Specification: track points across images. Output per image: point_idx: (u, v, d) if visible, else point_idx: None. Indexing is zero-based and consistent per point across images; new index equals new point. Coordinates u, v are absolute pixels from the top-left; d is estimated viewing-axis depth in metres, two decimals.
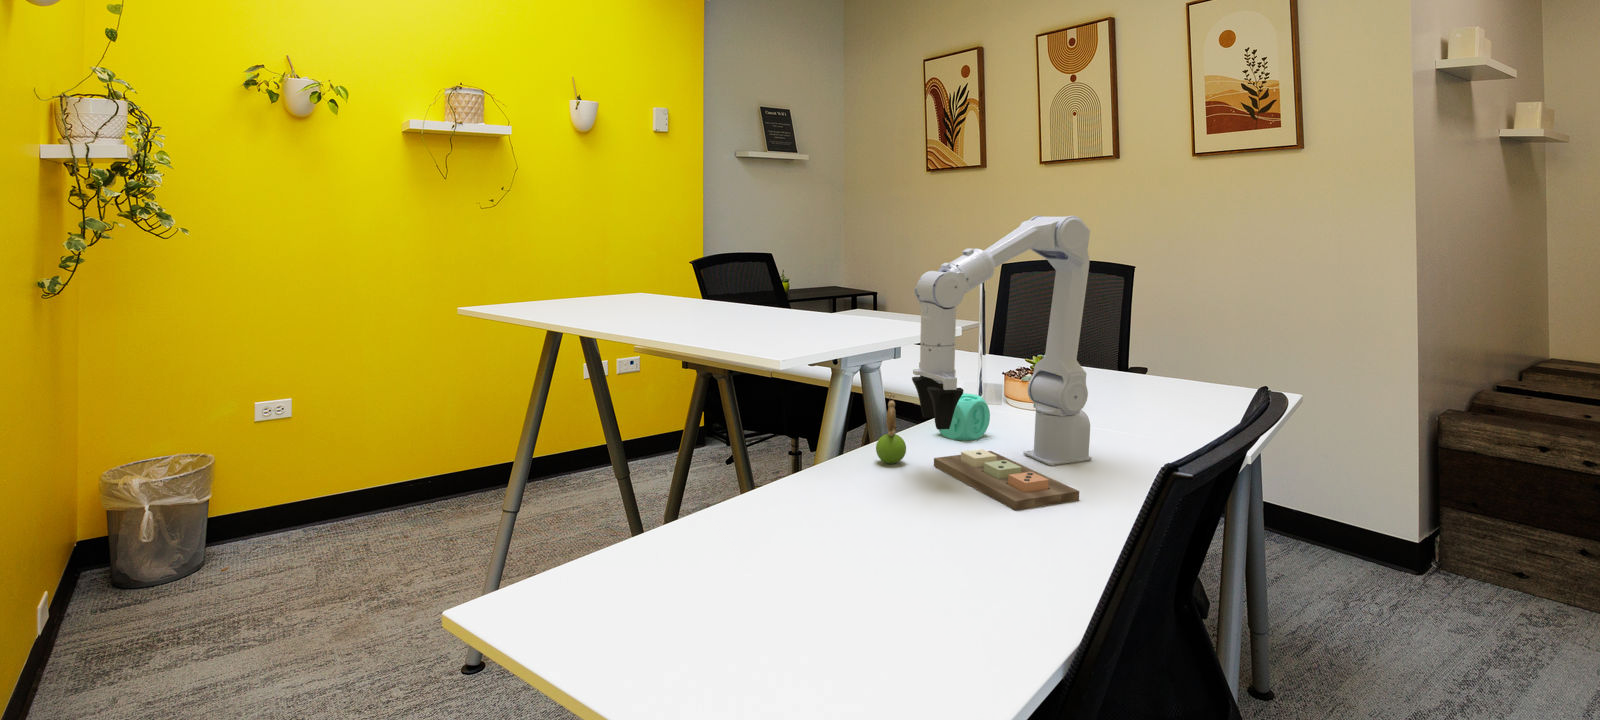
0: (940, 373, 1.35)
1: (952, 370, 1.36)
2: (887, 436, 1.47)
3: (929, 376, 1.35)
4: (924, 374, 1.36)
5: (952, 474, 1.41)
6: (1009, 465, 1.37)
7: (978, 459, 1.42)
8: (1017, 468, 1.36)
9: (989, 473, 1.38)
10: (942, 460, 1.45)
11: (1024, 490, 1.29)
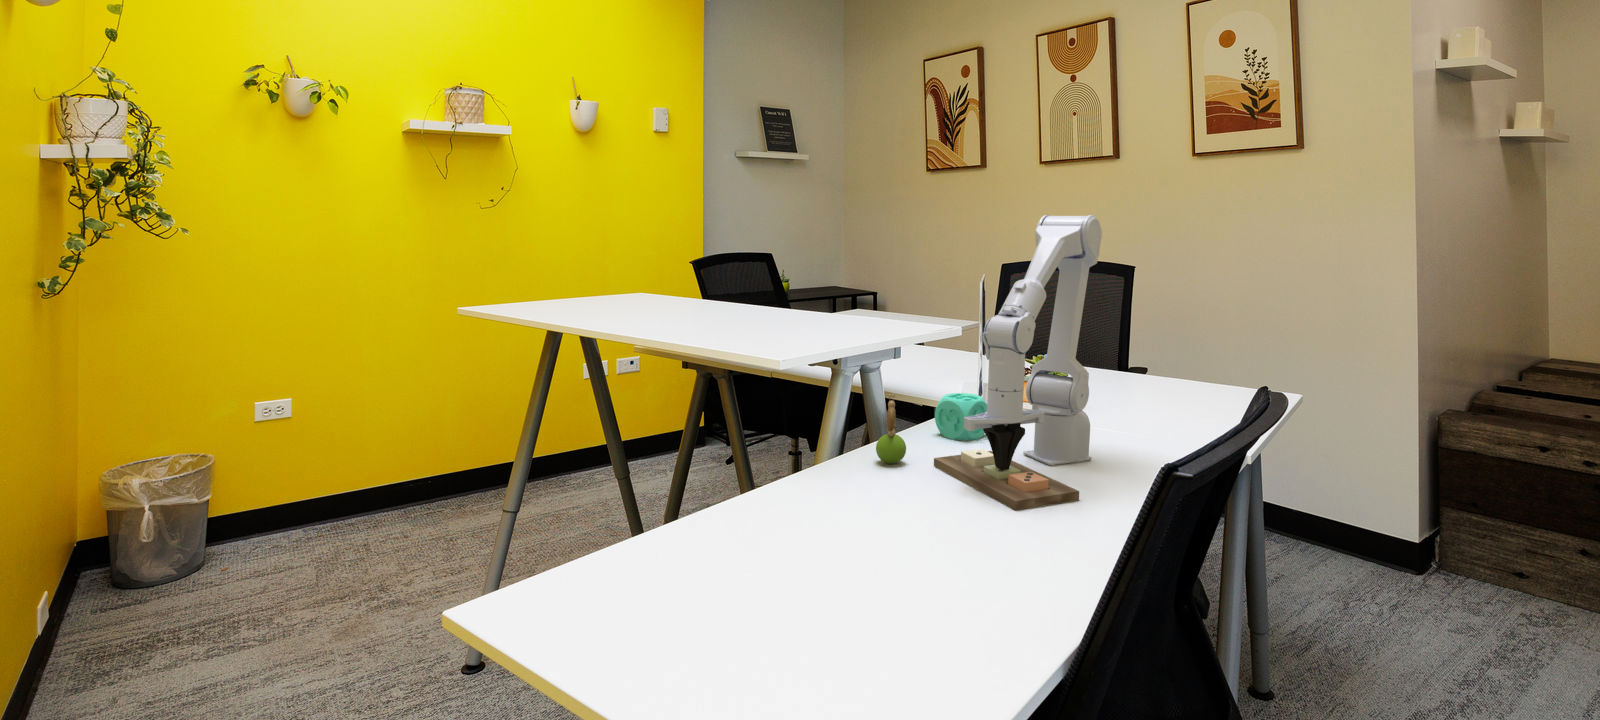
0: (988, 415, 1.36)
1: (1001, 417, 1.34)
2: (887, 436, 1.47)
3: None
4: None
5: (952, 474, 1.41)
6: (1009, 469, 1.38)
7: (978, 459, 1.42)
8: (1017, 472, 1.36)
9: None
10: (942, 460, 1.45)
11: (1024, 490, 1.29)
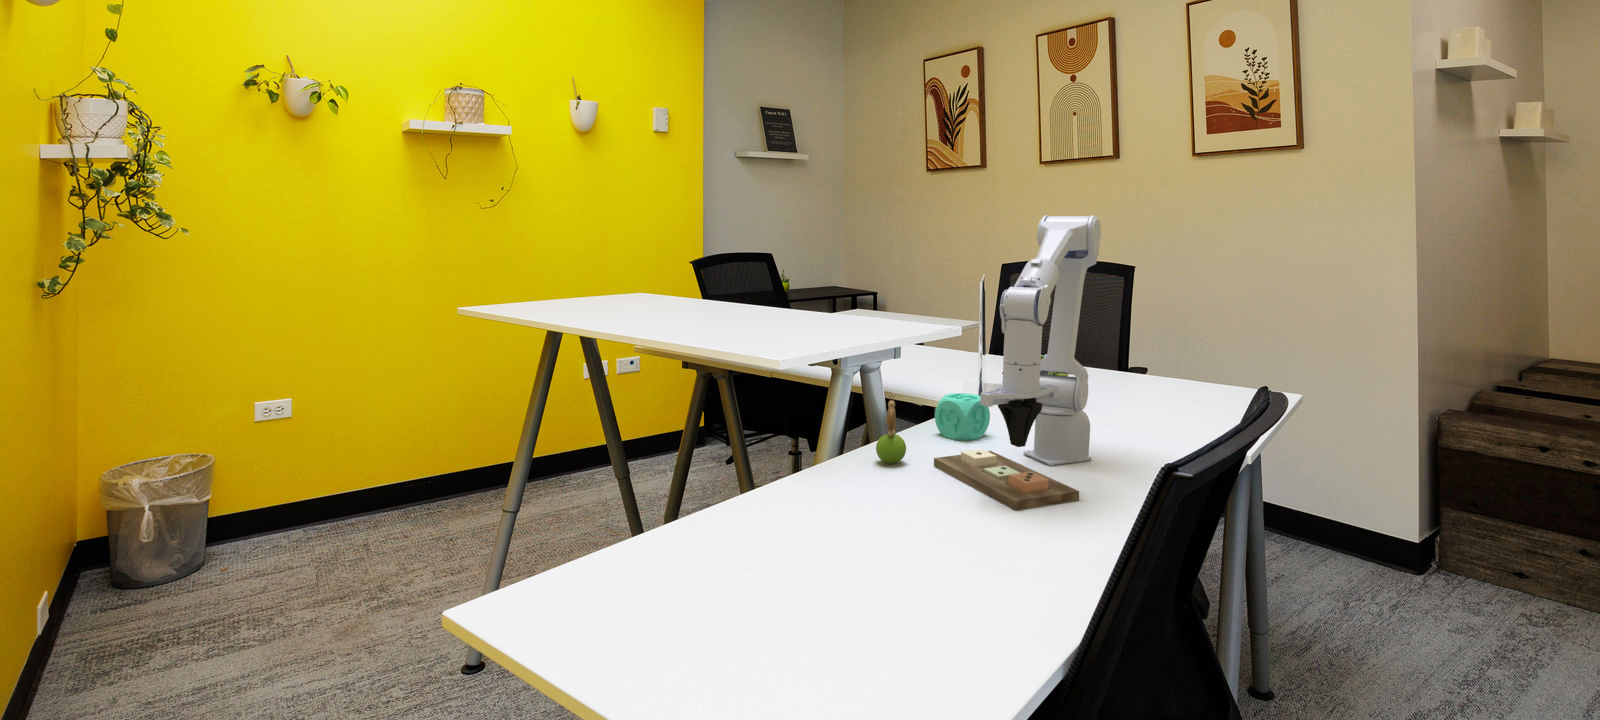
0: (1004, 391, 1.31)
1: (1019, 391, 1.29)
2: (887, 436, 1.47)
3: (997, 391, 1.32)
4: None
5: (952, 474, 1.41)
6: (1009, 471, 1.38)
7: (978, 459, 1.42)
8: None
9: None
10: (942, 460, 1.45)
11: (1024, 490, 1.29)
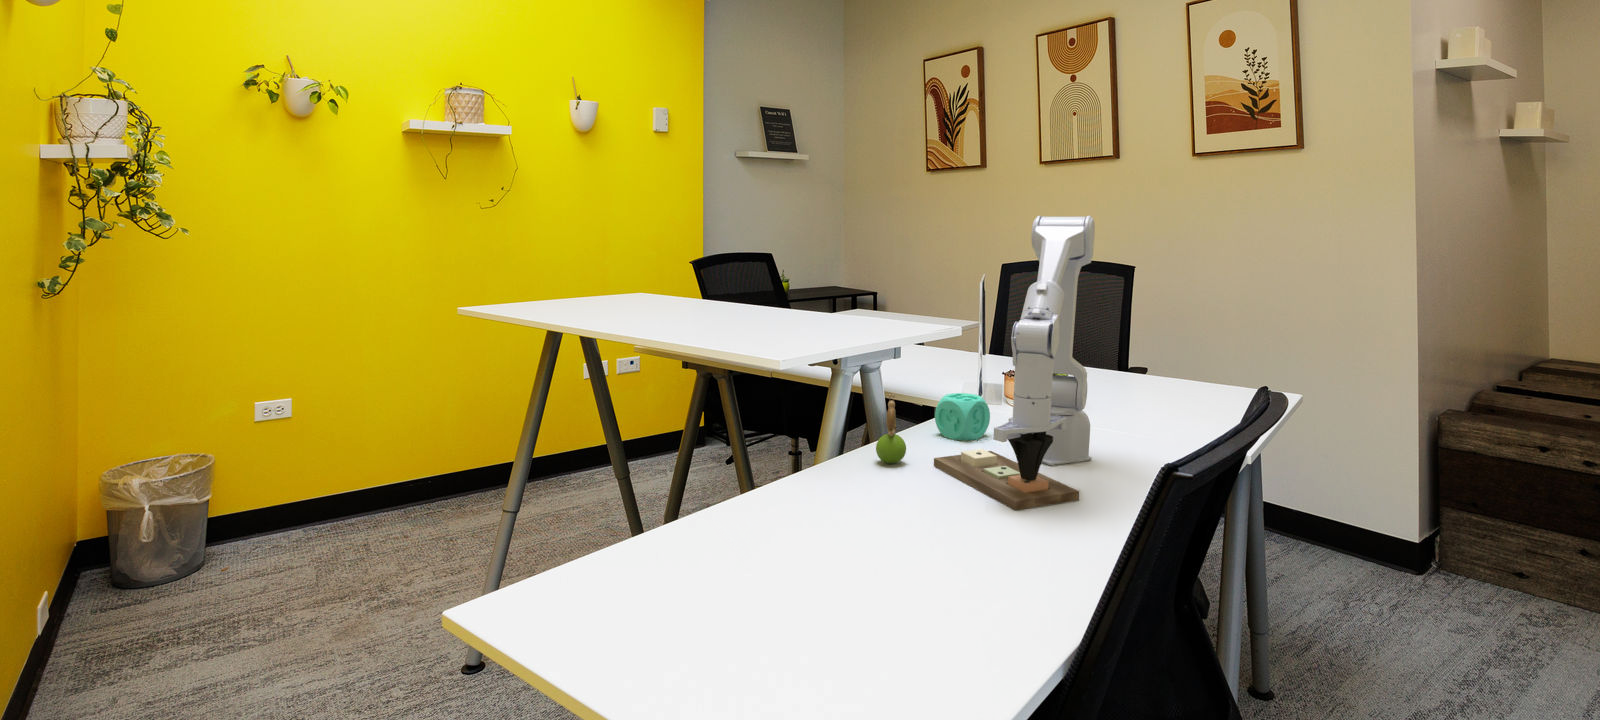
0: (1016, 424, 1.29)
1: (1032, 425, 1.27)
2: (887, 436, 1.47)
3: (1007, 425, 1.30)
4: None
5: (952, 474, 1.41)
6: (1009, 471, 1.38)
7: (978, 459, 1.42)
8: (1017, 474, 1.37)
9: None
10: (942, 460, 1.45)
11: (1024, 492, 1.29)
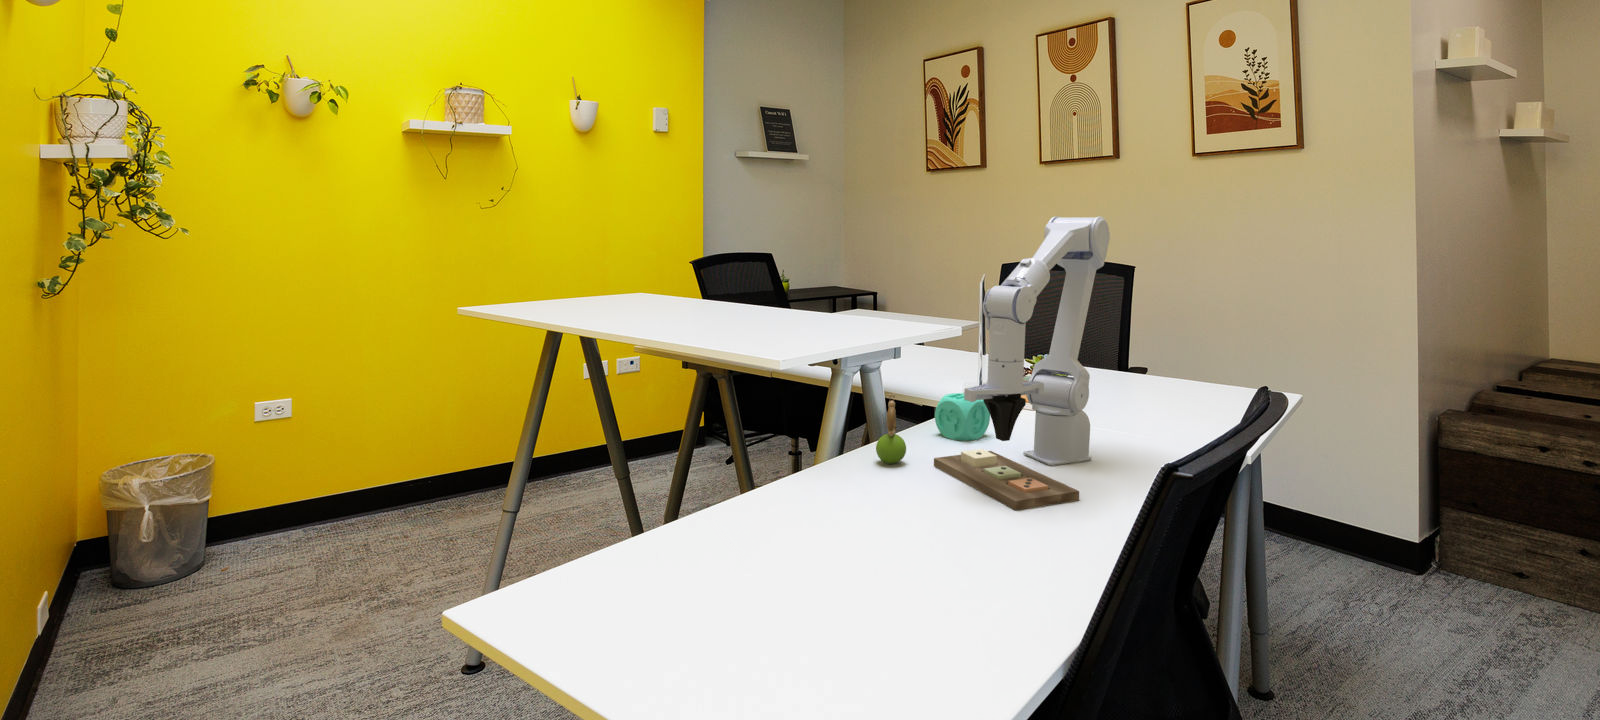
0: (988, 386, 1.35)
1: (1002, 387, 1.33)
2: (887, 436, 1.47)
3: None
4: None
5: (952, 474, 1.41)
6: (1009, 471, 1.38)
7: (978, 459, 1.42)
8: (1017, 474, 1.37)
9: None
10: (942, 460, 1.45)
11: None
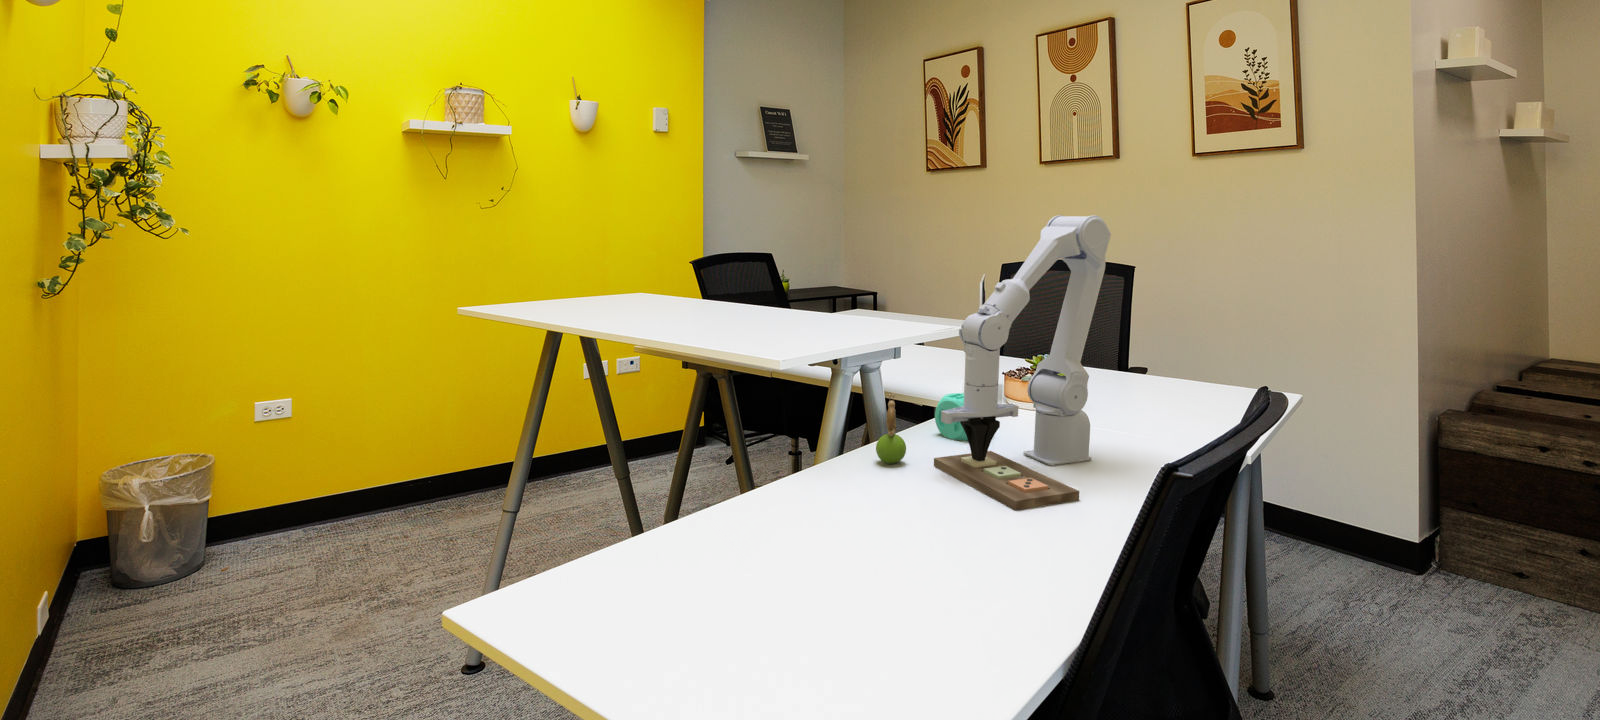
0: (964, 409, 1.42)
1: (976, 410, 1.40)
2: (887, 436, 1.47)
3: (959, 409, 1.44)
4: (963, 407, 1.45)
5: (952, 474, 1.41)
6: (1009, 471, 1.38)
7: (978, 465, 1.42)
8: (1017, 474, 1.37)
9: None
10: (942, 460, 1.45)
11: None
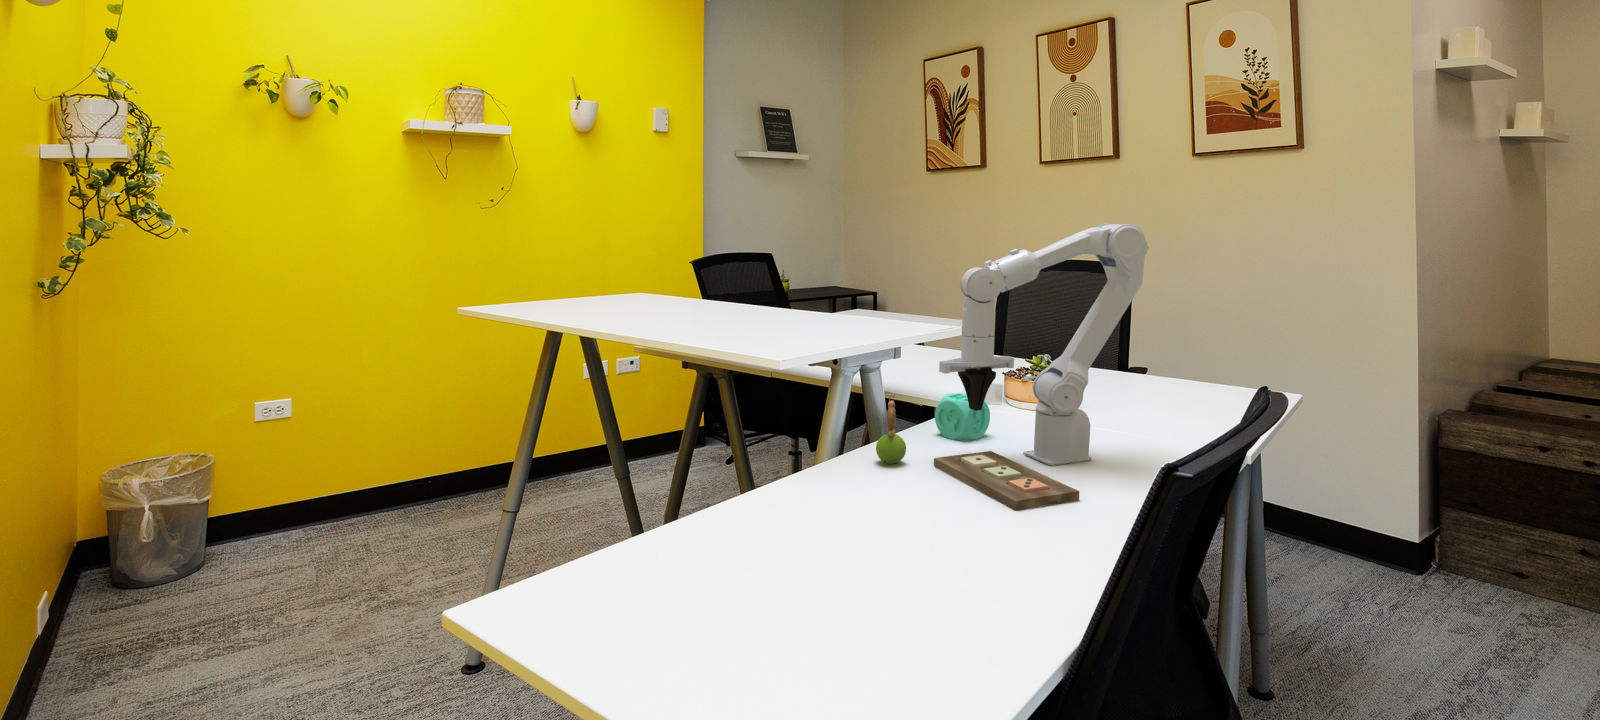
0: None
1: (973, 360, 1.45)
2: (887, 436, 1.47)
3: (956, 361, 1.49)
4: None
5: (952, 474, 1.41)
6: (1009, 471, 1.38)
7: (978, 465, 1.42)
8: (1017, 474, 1.37)
9: None
10: (942, 460, 1.45)
11: None
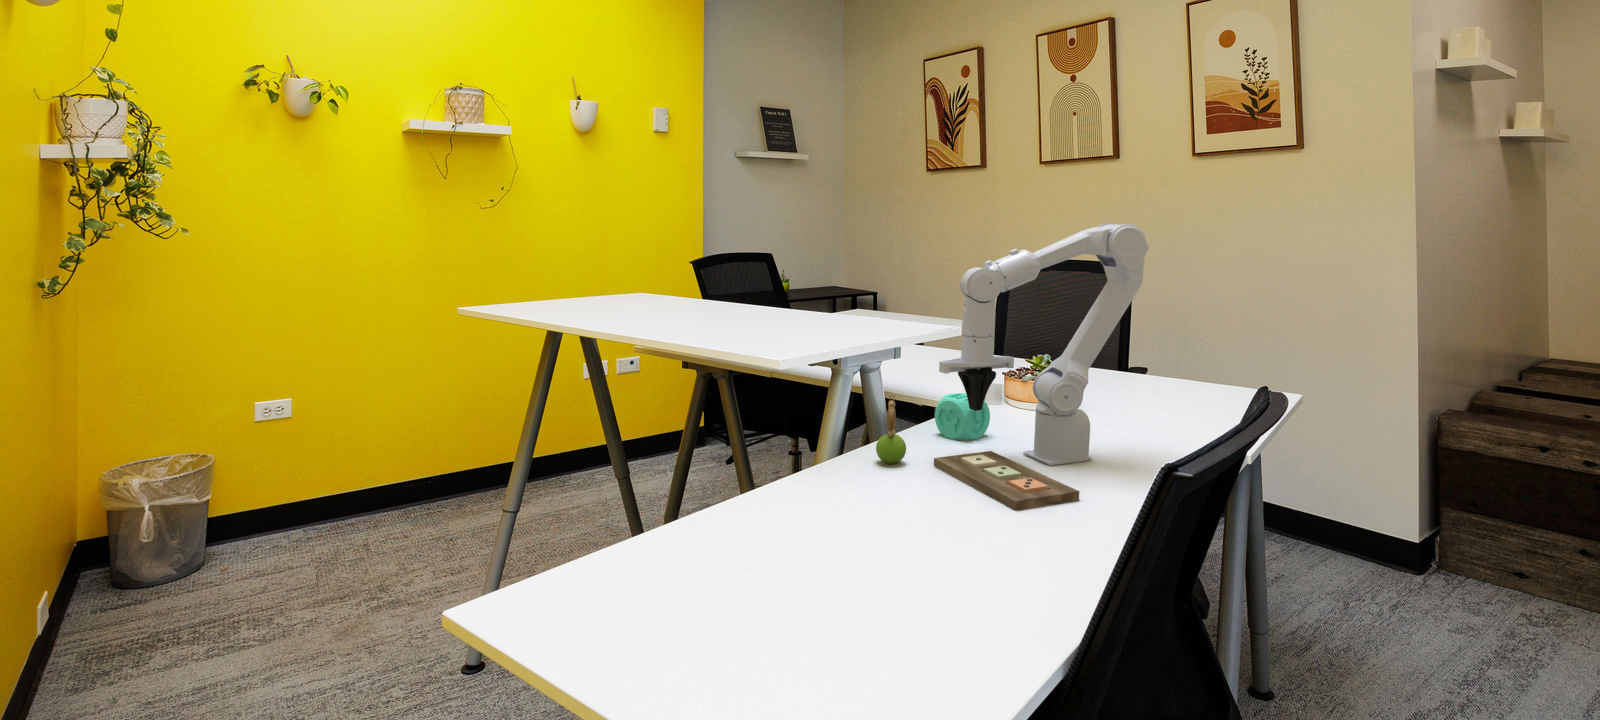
0: None
1: (973, 360, 1.45)
2: (887, 436, 1.47)
3: (956, 361, 1.49)
4: None
5: (952, 474, 1.41)
6: (1009, 471, 1.38)
7: (978, 465, 1.42)
8: (1017, 474, 1.37)
9: None
10: (942, 460, 1.45)
11: None
